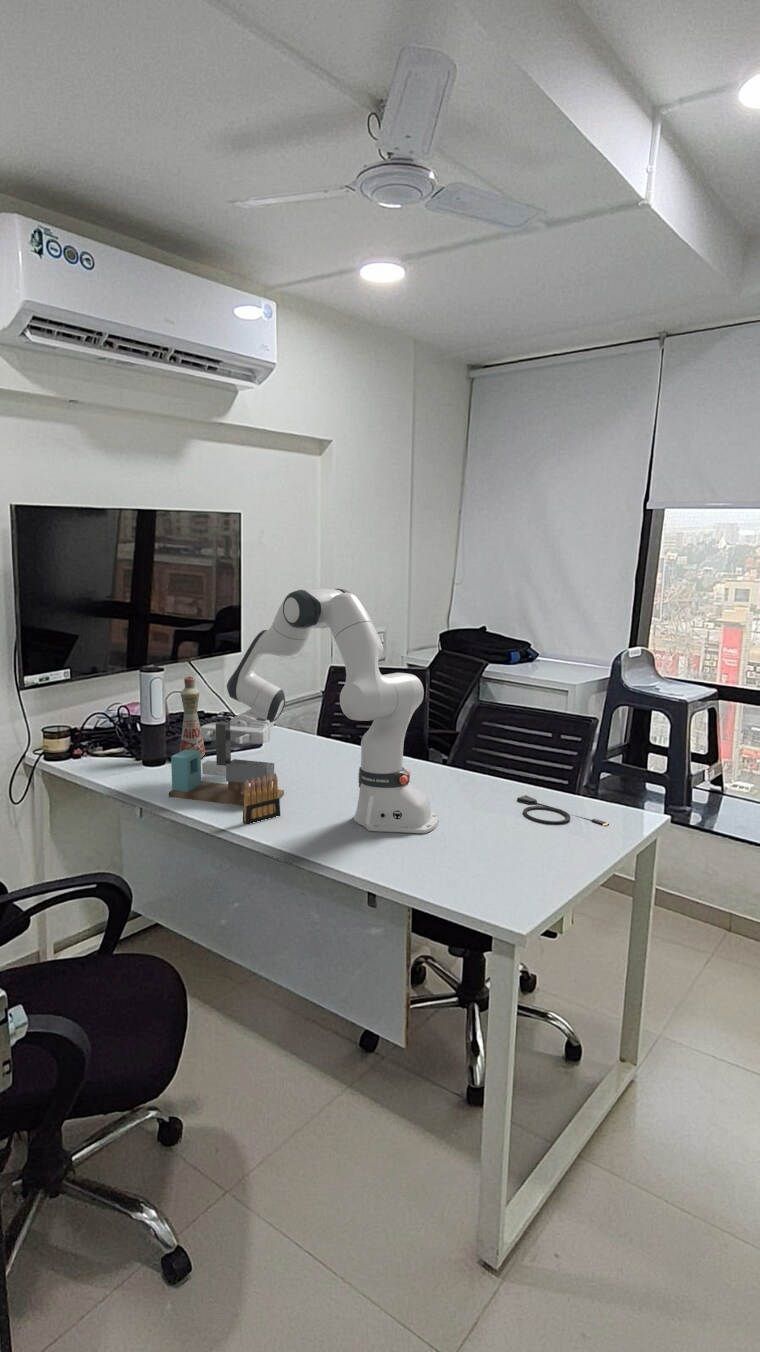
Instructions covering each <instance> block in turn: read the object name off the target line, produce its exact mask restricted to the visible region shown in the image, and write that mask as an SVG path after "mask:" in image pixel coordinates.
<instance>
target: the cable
mask: <svg viewBox="0 0 760 1352" xmlns="http://www.w3.org/2000/svg"><path fill="white" fill-rule="evenodd" d="M516 801H517V802H519V803H521V804H522V803H523V804H525V805H531V806H527V807H525V808H523V811H522V815H523V816H524V817H525V818H527V819H528V820H531V821H535V822H537V823H542V824H547V825H562V824H563V825H564V824H566V823H568V822H570V820H571V814H569V812H566V811H565V810H563V809H560V808H556V807H553V806H550V805H546V804H542V803H539V802H538V801H537V800H536V798H533V797H531V796H529V795H527V794H524V795H523V796H519V797H517V798H516ZM535 810H542V811H550V812H554V813H557V814H559V815H561V816H563V817H564V819H562V820H547V819H541V818H536V817H534V816H532V815H530V814H528V812H530V811H535ZM572 816H573V817H577V818H580V819H584V820H587V821H590V822H592V823H594V824H596V825H600V826H603V827H607V826H610V823H608V822H606V821H604V820H600V819H597V818H592V819H590V818H586V817H581V816H578V815H574V814H572Z"/></svg>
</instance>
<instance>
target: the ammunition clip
mask: <svg viewBox="0 0 760 1352" xmlns="http://www.w3.org/2000/svg"><path fill="white" fill-rule="evenodd" d="M278 782H279V781H278V775H277V773H276V772H274V777H273V781H272V779H271V775H270V774H269V776H268V783H267V787H266V778H265V776H263V778H262V789H261V783H260V778H259V777H258V778H257V781H256V792H255V782H254V779H253V778H252V780H251V783H249V782H248V780H247V779H246V782H245V793H244V804H243V806H242V823H243V824H244V825H246V824H249V825H251V824H250V823H252V824H254V823H253V822H256V823H258V822H257V821H260V822H262V821H261V820H264V821H266V820H265V819H267V820H270V819H269V818H271V819H274V818H273V817H275V818H277V817H276V816H279V817H281V803H280V802H281V801H280V799H281V798H279V791H278V790H279V785H278ZM249 786H250V790H249Z"/></svg>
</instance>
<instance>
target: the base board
mask: <svg viewBox="0 0 760 1352" xmlns="http://www.w3.org/2000/svg"><path fill="white" fill-rule="evenodd" d="M250 786H251V785H249V790H250ZM266 787H267V785H266ZM261 789H262V785H261ZM278 791H279V798H280V799H281V798H282V797H284V796H285V790H284V789H278ZM255 792H256V784H255ZM244 793H245V783H242V782H233V781H227V783H221V782H212V781H211V782H209V781H205V780H204V781H203V780H201V784H200V785H198V786H197V787H195V788H193V789H192V790H190V791H188V792H185V791H176V790H172V789H171V790H170V791H168V798H173V799H180V800H181V799H182V800H189V801H190V800H191V801H198V802H205V803H216V804H222V805H223V804H225V805H233V806H242V807H243V804H244ZM283 795H284V796H283Z"/></svg>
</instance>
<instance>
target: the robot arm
mask: <svg viewBox="0 0 760 1352" xmlns="http://www.w3.org/2000/svg"><path fill="white" fill-rule="evenodd" d="M312 629H330V631H331V634H332V637H333V639H334V641H335V643H336V646H337V649H338V650H339V652H340V656H341V658H342V660H343V663H344V668H345V674H346V676H345V683H344V686H343V687H342V689H341V691H340V694H339V705H340V708H341V711H342V712H343V714H344V715H345V716H346V717H347V718H348V719H350V720H352V721H359V722H360V721H361V722H362V721H367V722H368V721H372V724H371V726H370V727H369V728H368V730H367V731H366V732H365V733H364V735H363V736H362V738H361V742H360V766H359V768H358V787H359V793H358V801H357V806H356V810H355V813H354V817H353V818H354V821H355V822H356V823H357V824H359V825H361V826H363V827H364V828H365V829H366V831H367V830H368V831H369V832H386V833H387V832H389V833H405V834H407V833H408V834H409V833H410V834H427V833H430V832H431V831H433V830H434V829H435V828H436V827H437V826H438V825H439V820H440V819H439V815H438V814H437V813H436V812H434V811H431V804H430V801H429V797H428V796H427V794H425V793H424V792H422V791H421V790H420V789H418V788H417V787H416V786H415V785H413V783H411V782H410V781H411V779H410V777H411V776H410V775H411V769H409V770H407V769H405V768H404V767H403V761H404V760H403V757H404V743H405V742H404V741H405V738H406V733H407V729H408V727H409V724H410V722H411V719H412V716H413V715H414V713H415V711H416V710H417V709H418V708H419V707H420V705H421V704H422V703H423V700H424V696H425V695H424V694H425V692H424V691H425V690H424V686H423V683H422V681H421V679H420V678H418V677H417V675H414V674H412V673H407V672H406V673H405V672H393V673H387V674H382V673H381V671H380V668H379V660H380V659H381V658H382V657H383V654H384V645H383V643H382V640H381V638H380V636H379V634H378V632H377V630H376V627H375V625H374V623H373V621H372V619H371V616H370V615H369V613H368V611H367V610H366V608H365V607H364V604H362V602H361V601H360V599H359V598H358V597H357V595H355V594H353V593H351V592H350V591H348V590H345V589H342V588H320V587H319V588H310V589H309V588H308V589H298V590H295V591H292V592H290V593H288V594H287V596H286V597H285V598H284V599H283V601H282V602H281V604H280V606H279V607H278V609H277V611H276V614H275V617H274V619H273V622H272V624H271V626H270V628H269V629H262V630H261V631H260V632H259V633H257V635H255V638H253V640H252V642H251V644H250V645H249V646H248V649H247V650H246V652H245V654H244V655H243V657H242V658H241V661H240V662H239V665H238V666H237V667H236V669H235V671H234V672H233V674H232V675H231V677H230V678H229V679H228V681H227V684H226V689H227V694H228V696H229V698H231V699H233V700H235V701H237V702H240V703H242V704H244V705H246V706H247V707H248V708H250V709H247V710H246V711H244V712H241V713H238V714H237V715H235V716H233V717H232V718H231V719H230V721H229V722H230V740H231V742H235V744H241V745H247V744H256V745H257V744H258V745H263V744H265V743H269V742H270V741H271V728H272V727H273V726H274V725H275V722H276V721H278V719H279V717H280V716H281V715H282V713H283V711H284V708H285V706H286V696H285V692H284V690H283V689H282V688H281V687H279V686H277V685H276V684H273V683H272V682H269V681H268V680H266V679H264V678H263V677H261V676H259V675H257V674H256V673H255V671H254V669H255V668H256V666H257V664H258V662H259V661H260V659H261V657H262V655H271V656H276V657H284V658H285V657H291V656H294V655H297V654H299V653H300V652H302V650H303V649H304V647H305V646H306V643H307V641H308V639H309V636H310V633H311V631H312ZM216 723H218V722H209V723H206V724H203V725H200V736H201V738H202V739H203V740H204V741H208V742H211V741H216Z"/></svg>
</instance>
